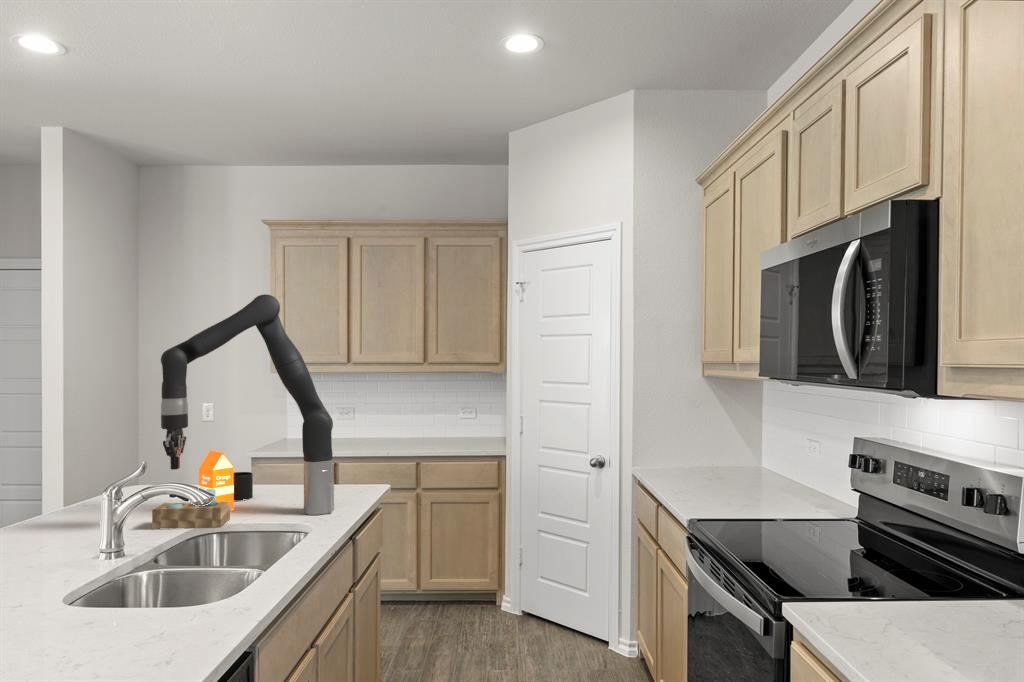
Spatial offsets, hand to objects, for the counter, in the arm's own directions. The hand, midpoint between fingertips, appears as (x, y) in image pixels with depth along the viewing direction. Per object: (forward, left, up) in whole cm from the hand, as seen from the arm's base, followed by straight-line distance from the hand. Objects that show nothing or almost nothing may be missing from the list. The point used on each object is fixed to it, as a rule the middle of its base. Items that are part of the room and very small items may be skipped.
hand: (175, 468), depth 217 cm
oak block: (-5, 0, -17) cm, 18 cm away
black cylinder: (-8, -41, -18) cm, 45 cm away
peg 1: (0, 0, -17) cm, 17 cm away
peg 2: (-10, 0, -13) cm, 16 cm away
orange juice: (-6, -20, -18) cm, 27 cm away
